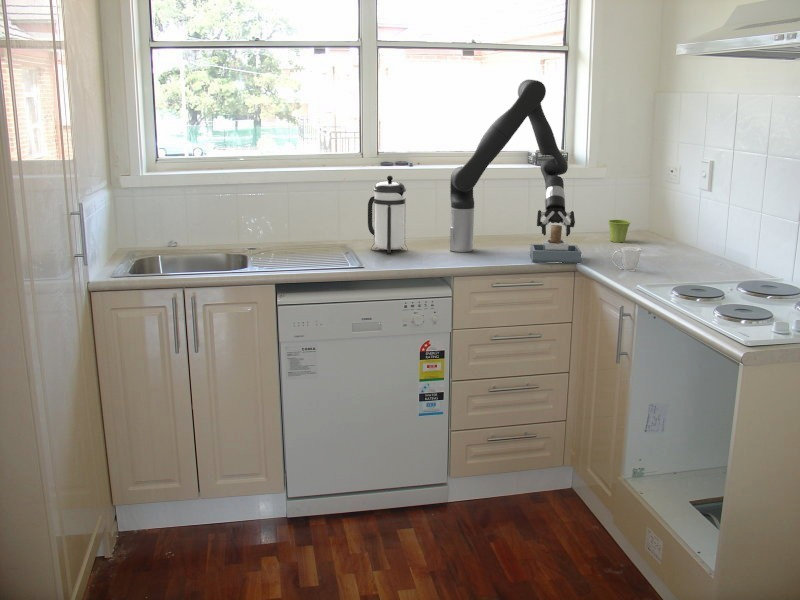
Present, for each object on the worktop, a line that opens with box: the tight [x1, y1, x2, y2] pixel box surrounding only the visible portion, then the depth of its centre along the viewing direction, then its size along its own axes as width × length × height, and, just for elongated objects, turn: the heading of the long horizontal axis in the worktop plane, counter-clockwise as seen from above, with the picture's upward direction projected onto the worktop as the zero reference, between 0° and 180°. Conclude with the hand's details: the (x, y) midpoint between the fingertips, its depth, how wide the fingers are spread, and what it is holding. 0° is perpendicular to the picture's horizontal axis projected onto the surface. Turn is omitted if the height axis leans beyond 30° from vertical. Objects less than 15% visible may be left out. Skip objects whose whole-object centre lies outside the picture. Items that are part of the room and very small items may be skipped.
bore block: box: [542, 238, 569, 251], centre depth 304 cm, size 9×9×6 cm
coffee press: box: [367, 175, 409, 255], centre depth 316 cm, size 17×16×30 cm
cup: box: [611, 246, 642, 272], centre depth 288 cm, size 7×10×8 cm
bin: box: [529, 243, 582, 265], centre depth 305 cm, size 18×13×4 cm
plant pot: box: [607, 219, 632, 243], centre depth 341 cm, size 9×9×9 cm
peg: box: [550, 224, 563, 243], centre depth 303 cm, size 4×4×12 cm
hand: (556, 234), depth 302 cm, fingers open, 8 cm apart
